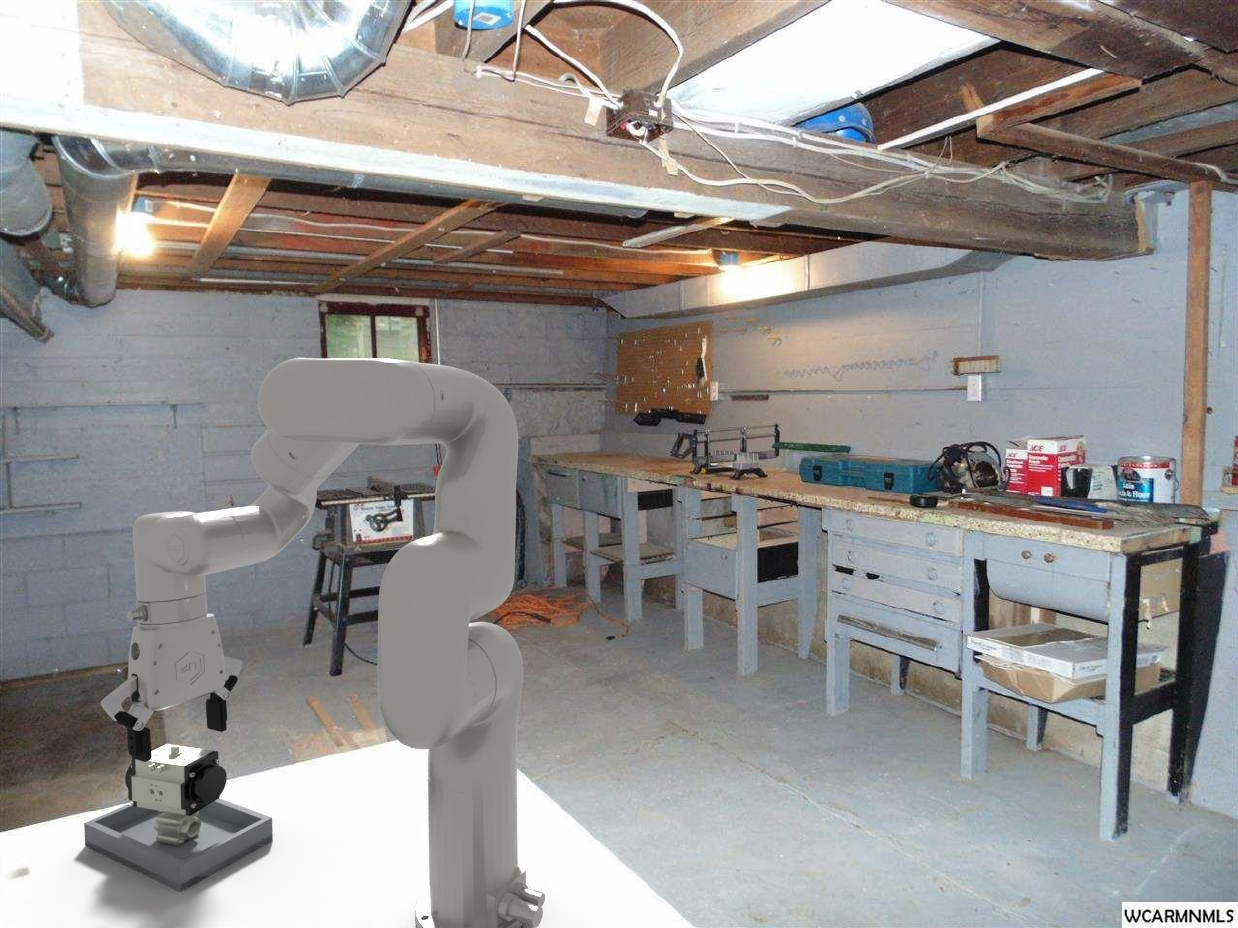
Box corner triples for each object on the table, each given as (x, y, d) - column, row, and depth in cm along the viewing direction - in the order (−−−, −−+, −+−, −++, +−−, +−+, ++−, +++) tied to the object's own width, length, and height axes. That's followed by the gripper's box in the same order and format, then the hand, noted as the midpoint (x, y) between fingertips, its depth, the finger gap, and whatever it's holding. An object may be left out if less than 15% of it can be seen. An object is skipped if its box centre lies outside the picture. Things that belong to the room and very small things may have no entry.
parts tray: (272, 840, 96) (272, 817, 96) (180, 891, 85) (179, 866, 85) (178, 803, 105) (177, 783, 105) (85, 846, 94) (84, 822, 94)
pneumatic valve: (157, 822, 99) (154, 733, 98) (229, 835, 95) (227, 743, 95) (119, 844, 93) (116, 751, 93) (194, 859, 90) (191, 762, 90)
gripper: (116, 629, 84) (126, 778, 85) (254, 597, 99) (261, 723, 100) (80, 624, 88) (89, 766, 88) (218, 594, 103) (225, 715, 104)
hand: (180, 743), depth 94 cm, fingers open, 9 cm apart
